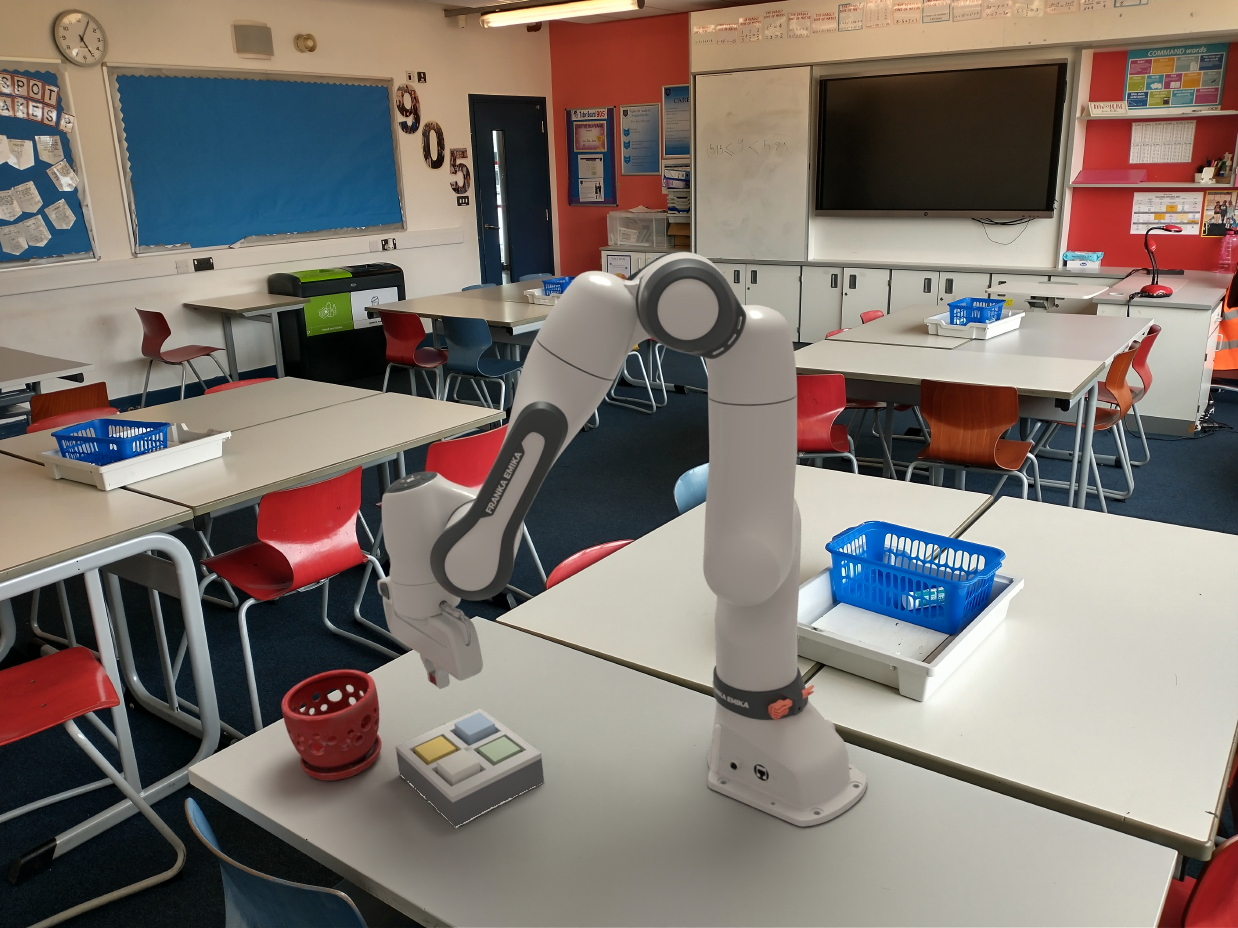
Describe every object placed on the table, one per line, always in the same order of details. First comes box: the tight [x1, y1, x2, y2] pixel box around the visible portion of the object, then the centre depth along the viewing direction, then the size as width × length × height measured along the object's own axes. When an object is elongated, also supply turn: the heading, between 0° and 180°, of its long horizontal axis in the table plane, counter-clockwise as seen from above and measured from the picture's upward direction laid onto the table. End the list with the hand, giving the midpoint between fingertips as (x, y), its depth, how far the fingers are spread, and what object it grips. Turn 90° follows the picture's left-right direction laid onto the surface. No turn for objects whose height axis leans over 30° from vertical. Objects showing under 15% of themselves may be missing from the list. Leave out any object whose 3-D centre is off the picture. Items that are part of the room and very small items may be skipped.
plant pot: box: [281, 669, 383, 781], centre depth 137 cm, size 13×13×12 cm
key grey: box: [436, 749, 481, 787], centre depth 128 cm, size 4×4×3 cm
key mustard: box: [415, 736, 456, 774], centre depth 133 cm, size 4×4×3 cm
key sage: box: [479, 737, 521, 766], centre depth 132 cm, size 4×4×3 cm
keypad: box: [394, 708, 545, 828], centre depth 133 cm, size 16×14×5 cm
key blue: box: [454, 712, 496, 746], centre depth 136 cm, size 4×4×3 cm
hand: (439, 683), depth 130 cm, fingers closed
